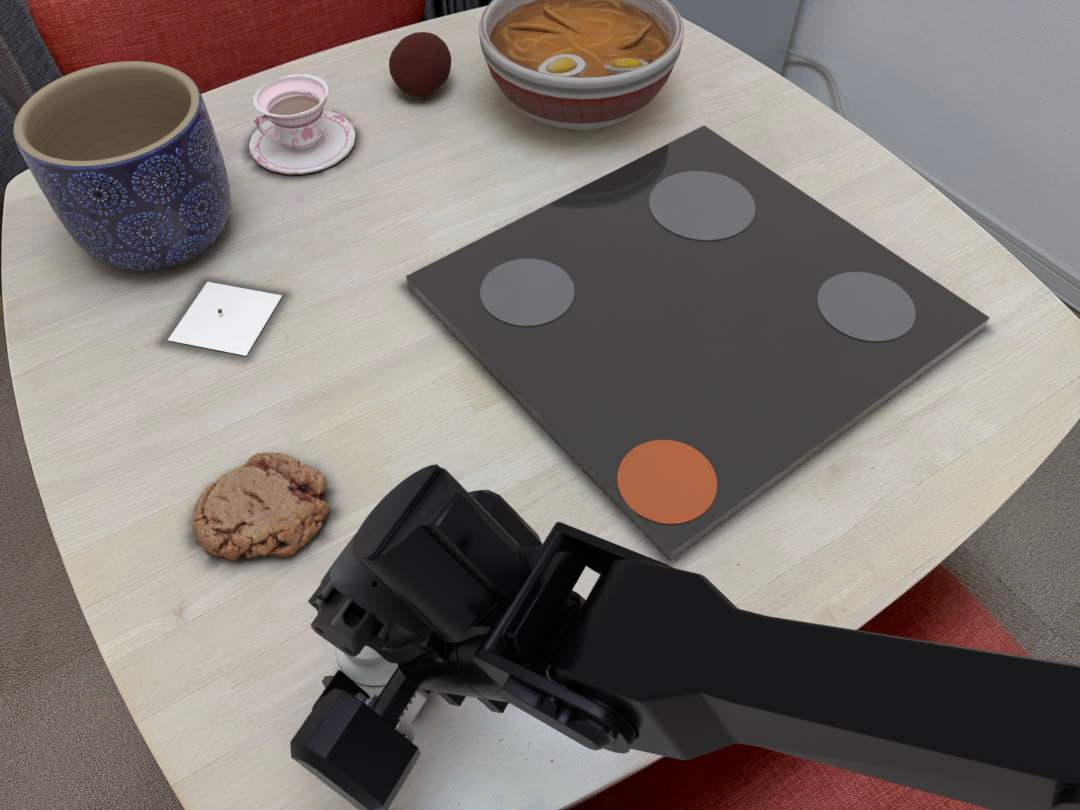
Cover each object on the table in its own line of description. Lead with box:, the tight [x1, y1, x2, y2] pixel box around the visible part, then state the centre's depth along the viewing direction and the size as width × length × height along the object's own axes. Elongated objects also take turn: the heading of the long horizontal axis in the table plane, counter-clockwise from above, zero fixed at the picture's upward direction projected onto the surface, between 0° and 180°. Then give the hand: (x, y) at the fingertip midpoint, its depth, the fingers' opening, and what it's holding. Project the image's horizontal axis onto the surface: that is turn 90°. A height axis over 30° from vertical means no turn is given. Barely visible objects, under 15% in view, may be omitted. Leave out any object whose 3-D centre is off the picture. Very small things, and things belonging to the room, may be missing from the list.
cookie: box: [191, 451, 331, 561], centre depth 70 cm, size 10×11×3 cm
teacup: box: [248, 73, 357, 175], centre depth 99 cm, size 12×12×6 cm
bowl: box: [478, 0, 685, 131], centre depth 102 cm, size 23×23×10 cm
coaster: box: [167, 281, 283, 357], centre depth 84 cm, size 8×8×1 cm
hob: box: [405, 125, 991, 562], centre depth 85 cm, size 38×40×2 cm
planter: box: [12, 60, 232, 272], centre depth 86 cm, size 17×17×15 cm
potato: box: [388, 31, 452, 99], centre depth 106 cm, size 7×8×7 cm
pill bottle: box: [334, 646, 398, 697], centre depth 59 cm, size 6×6×10 cm
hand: (362, 634), depth 58 cm, fingers open, 7 cm apart
